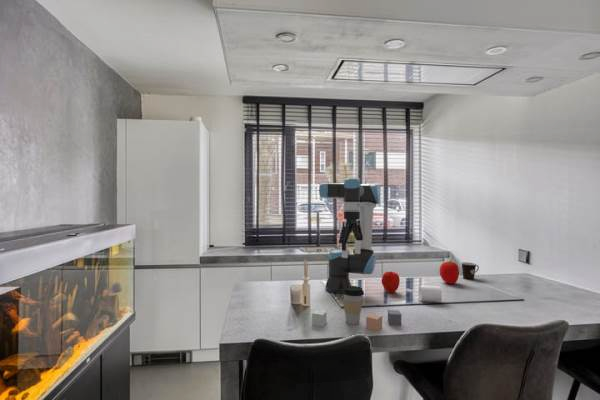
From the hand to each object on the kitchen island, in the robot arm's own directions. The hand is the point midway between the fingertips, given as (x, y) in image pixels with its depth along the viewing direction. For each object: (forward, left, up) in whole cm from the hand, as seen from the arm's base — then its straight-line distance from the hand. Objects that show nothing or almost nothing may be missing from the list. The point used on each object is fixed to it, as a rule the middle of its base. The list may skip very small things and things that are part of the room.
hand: (351, 255), depth 164 cm
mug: (+25, +42, -27) cm, 56 cm away
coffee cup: (+7, -11, -27) cm, 30 cm away
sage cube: (-4, -21, -27) cm, 35 cm away
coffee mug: (+34, +106, -27) cm, 114 cm away
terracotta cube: (+17, -11, -27) cm, 34 cm away
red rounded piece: (+3, +43, -27) cm, 51 cm away
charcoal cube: (+22, -1, -27) cm, 35 cm away
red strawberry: (+25, +85, -27) cm, 92 cm away
